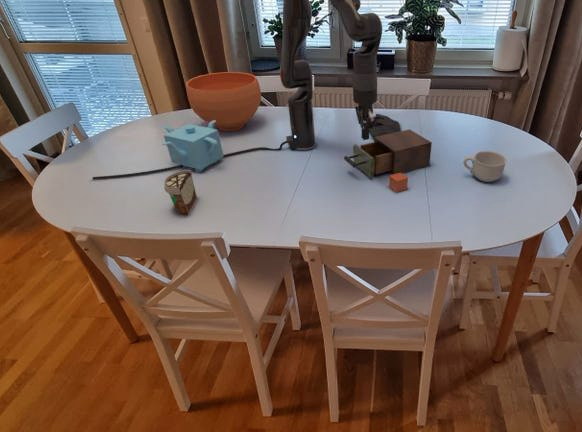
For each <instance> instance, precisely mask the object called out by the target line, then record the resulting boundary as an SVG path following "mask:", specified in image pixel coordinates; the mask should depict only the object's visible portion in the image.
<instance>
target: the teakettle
mask: <svg viewBox="0 0 582 432" xmlns="http://www.w3.org/2000/svg"><path fill="white" fill-rule="evenodd" d="M215 122H216V120H213V121H211V122H210V123H208V125H207V127H206V126H201V125H196V124H191V123H188V124H185V125H184V126H181V127H179V128H177V129H173V127H171V126H170V125H167V124H166V125H162V127H163V128H164V129H165V130H166V131H167V133H165V134H164V135H163V138H164V141H165V142H163V143H161V145H162V146H166V148H167V151H168V153H169V157H170V161H171V163H172V164H176V165H184V166H183V167H180V168H182V169H185V168H192V169H194V170H195V172H198V173H199V172H203V171H204V170H205V168H207V167H208V166H210V165H211V164H217V163H218V161H219V160H220V159H222V158H225V157H224V155H225V154H224V152H223V147H222V143H221V138H220V134H219V130H218V129H217V128H214V127H215V125H214V123H215Z"/></svg>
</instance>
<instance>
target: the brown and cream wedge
mask: <svg viewBox="0 0 582 432" xmlns="http://www.w3.org/2000/svg"><path fill="white" fill-rule="evenodd" d="M163 186H164V191H165V192H166V193H167V194H168V195H169V197H170V200H171V202H172V204H173V206H174V209H175V212H176V213H178V214H180V215H184V216H189V215H190V213H191V211H192V209H194V206H195V204H196V203H197V201H198V195H197V192H196V188H195V183H194V179H193V173H192V171H191V169H183V170H180V171H177V172H174V173H172V174H170V175H168V176H167V177H166V178H165V179H164V183H163Z"/></svg>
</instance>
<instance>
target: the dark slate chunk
mask: <svg viewBox="0 0 582 432" xmlns="http://www.w3.org/2000/svg"><path fill="white" fill-rule="evenodd" d="M374 117H376V121H375V123H374V126H373V128H372V129H369V133H370V134H371V136H372V137H373V138H374V137H377V136H382V135H386V134H391V133H395V132H400V131H402V128H401V125H400V122H399V121H397V120H394V119H392V118H391V117H389V116H388V115H384V114H380V113H376V114H375V116H374Z"/></svg>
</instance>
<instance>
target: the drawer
mask: <svg viewBox="0 0 582 432" xmlns="http://www.w3.org/2000/svg"><path fill="white" fill-rule="evenodd" d="M352 153H353V155H349V156H348V155H344V157H343V160H344V161H345V162H347V163H348V164H349V165H350V166H351V167H352V168H354V169H355V168H358V169H359V170H361V171H362V172H363V173H364V174H365V175H366V176H368V177H369V179H373V178H374V175H379V174H383V173H387V172H389V171H391V170H393V152H392V151H390V150H389V149H387V148H386V147H384V146H383V145H382V144H380V143H379V142H377V141H376V142H374V141H373V142H367V143H363V144H360V146H358V144H353V145H352ZM352 159H353V160H352Z"/></svg>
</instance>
